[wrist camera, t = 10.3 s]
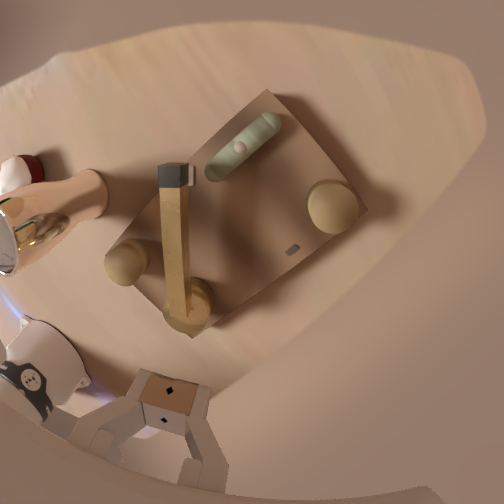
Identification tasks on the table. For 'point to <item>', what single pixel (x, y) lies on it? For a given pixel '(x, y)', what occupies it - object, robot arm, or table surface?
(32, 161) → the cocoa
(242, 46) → the table surface
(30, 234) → the beer glass
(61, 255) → the table surface
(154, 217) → the levelling base
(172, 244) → the lever handle
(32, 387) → the robot arm
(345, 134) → the table surface
